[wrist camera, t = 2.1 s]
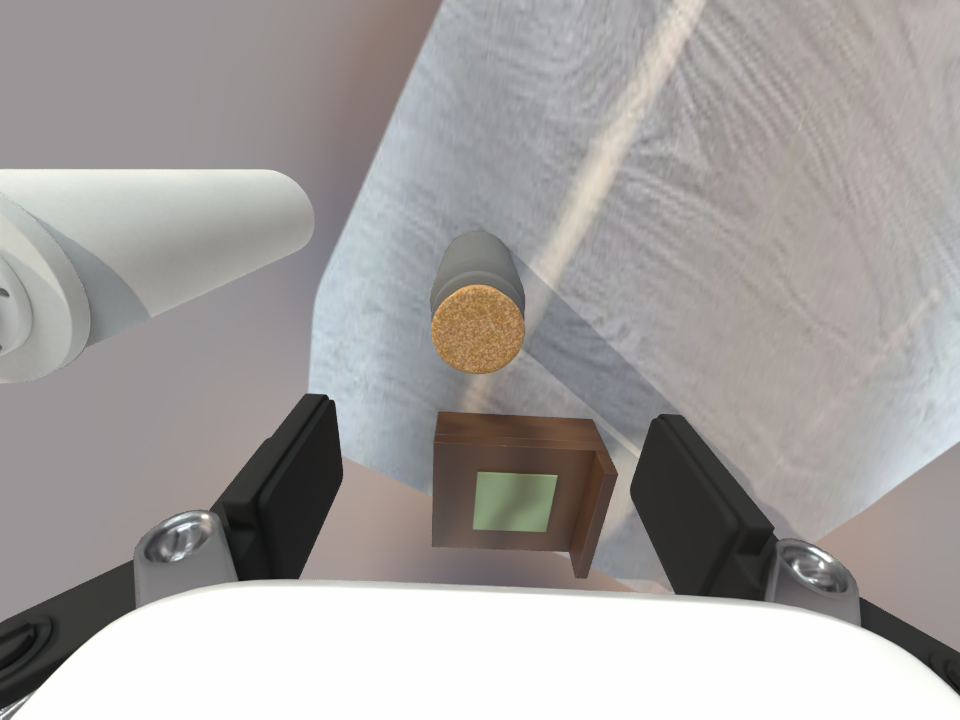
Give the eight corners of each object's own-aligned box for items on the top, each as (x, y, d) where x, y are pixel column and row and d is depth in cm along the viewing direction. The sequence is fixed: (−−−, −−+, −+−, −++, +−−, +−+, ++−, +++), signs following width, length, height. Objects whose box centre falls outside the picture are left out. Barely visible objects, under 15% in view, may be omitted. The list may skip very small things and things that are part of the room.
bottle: (430, 248, 32) (398, 305, 18) (495, 218, 31) (511, 255, 17) (460, 309, 34) (450, 399, 21) (521, 283, 33) (552, 360, 20)
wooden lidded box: (436, 510, 45) (428, 573, 38) (438, 411, 39) (430, 465, 32) (569, 515, 46) (587, 578, 39) (592, 419, 40) (618, 473, 33)
